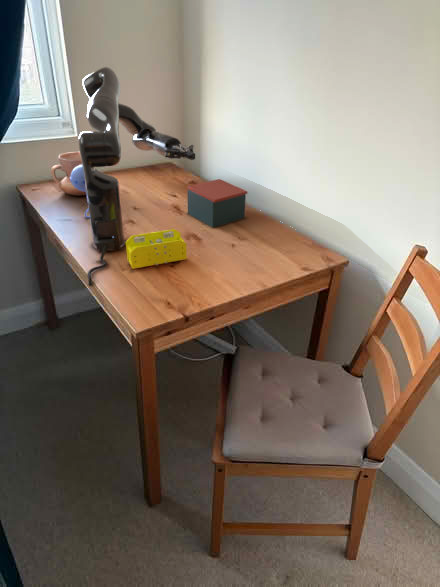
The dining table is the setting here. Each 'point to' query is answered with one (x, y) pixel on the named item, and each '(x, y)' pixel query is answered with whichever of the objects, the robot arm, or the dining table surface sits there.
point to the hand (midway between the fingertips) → (193, 156)
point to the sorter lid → (217, 190)
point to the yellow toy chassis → (155, 248)
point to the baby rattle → (79, 181)
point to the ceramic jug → (68, 172)
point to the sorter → (216, 209)
